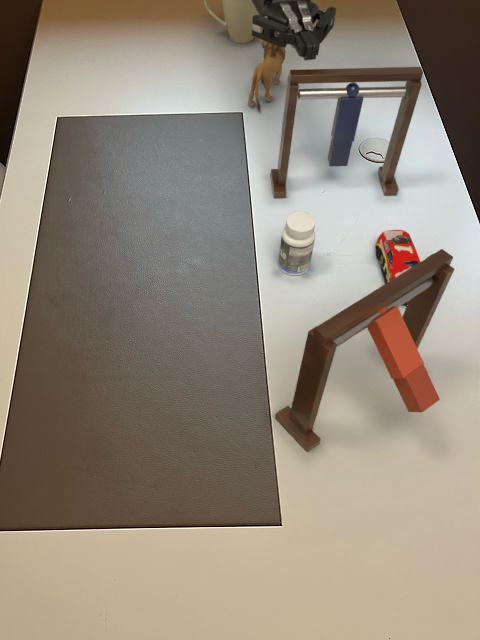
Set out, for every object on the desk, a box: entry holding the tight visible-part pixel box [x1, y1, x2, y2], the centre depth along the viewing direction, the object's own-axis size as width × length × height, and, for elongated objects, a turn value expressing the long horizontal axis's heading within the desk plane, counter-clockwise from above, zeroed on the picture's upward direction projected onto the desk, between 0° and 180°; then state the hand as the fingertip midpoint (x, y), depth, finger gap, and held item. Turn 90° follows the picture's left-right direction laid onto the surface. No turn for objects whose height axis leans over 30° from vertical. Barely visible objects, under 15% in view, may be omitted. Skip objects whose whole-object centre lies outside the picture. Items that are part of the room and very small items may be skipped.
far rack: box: [269, 66, 424, 199], centre depth 95 cm, size 6×20×19 cm, turn 91°
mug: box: [203, 0, 259, 44], centre depth 125 cm, size 11×10×12 cm
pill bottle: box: [277, 211, 316, 276], centre depth 89 cm, size 5×5×8 cm
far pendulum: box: [297, 82, 406, 168], centre depth 94 cm, size 2×15×13 cm, turn 91°
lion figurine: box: [247, 33, 286, 112], centre depth 115 cm, size 15×5×9 cm, turn 167°
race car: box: [375, 229, 421, 305], centre depth 90 cm, size 13×5×4 cm, turn 2°
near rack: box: [274, 248, 455, 453], centre depth 72 cm, size 6×20×19 cm, turn 126°
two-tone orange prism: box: [333, 277, 440, 413], centre depth 67 cm, size 2×15×13 cm
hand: (311, 53), depth 85 cm, fingers closed
